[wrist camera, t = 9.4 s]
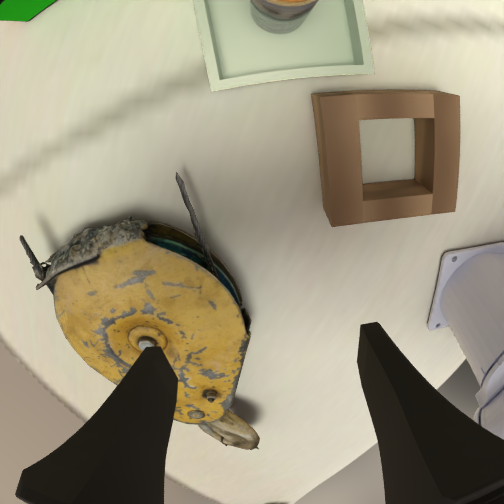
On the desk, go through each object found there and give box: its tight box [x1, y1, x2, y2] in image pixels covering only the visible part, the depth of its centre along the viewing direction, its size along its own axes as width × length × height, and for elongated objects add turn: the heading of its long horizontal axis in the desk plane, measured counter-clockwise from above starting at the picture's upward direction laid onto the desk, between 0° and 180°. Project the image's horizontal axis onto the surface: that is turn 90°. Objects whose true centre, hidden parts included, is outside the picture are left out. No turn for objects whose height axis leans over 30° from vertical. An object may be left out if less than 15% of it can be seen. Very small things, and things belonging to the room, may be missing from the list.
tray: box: [193, 0, 374, 92], centre depth 12 cm, size 8×8×2 cm
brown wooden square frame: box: [311, 90, 460, 227], centre depth 16 cm, size 8×7×2 cm
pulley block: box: [20, 172, 260, 450], centre depth 24 cm, size 14×6×30 cm
